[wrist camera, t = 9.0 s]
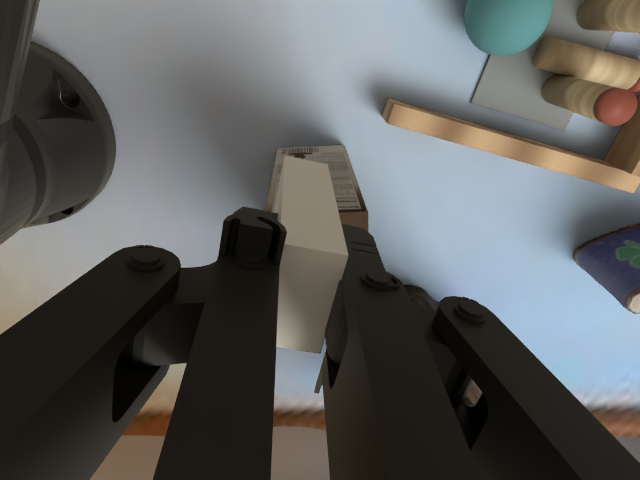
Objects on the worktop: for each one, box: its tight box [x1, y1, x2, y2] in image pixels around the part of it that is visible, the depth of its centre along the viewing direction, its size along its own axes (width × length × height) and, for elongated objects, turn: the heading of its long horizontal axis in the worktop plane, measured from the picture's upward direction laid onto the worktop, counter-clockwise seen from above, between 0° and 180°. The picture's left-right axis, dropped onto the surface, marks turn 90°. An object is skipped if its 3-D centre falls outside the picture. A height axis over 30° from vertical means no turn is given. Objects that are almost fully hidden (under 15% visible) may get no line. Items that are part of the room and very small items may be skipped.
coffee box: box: [265, 145, 368, 338], centre depth 36 cm, size 9×6×16 cm
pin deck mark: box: [471, 0, 615, 131], centre depth 38 cm, size 9×12×1 cm
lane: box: [382, 96, 640, 193], centre depth 36 cm, size 23×18×4 cm
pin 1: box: [577, 0, 640, 33], centre depth 33 cm, size 2×2×9 cm
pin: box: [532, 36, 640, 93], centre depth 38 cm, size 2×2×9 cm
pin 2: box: [541, 74, 637, 126], centre depth 36 cm, size 2×2×9 cm
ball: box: [464, 0, 553, 56], centre depth 34 cm, size 6×6×6 cm
